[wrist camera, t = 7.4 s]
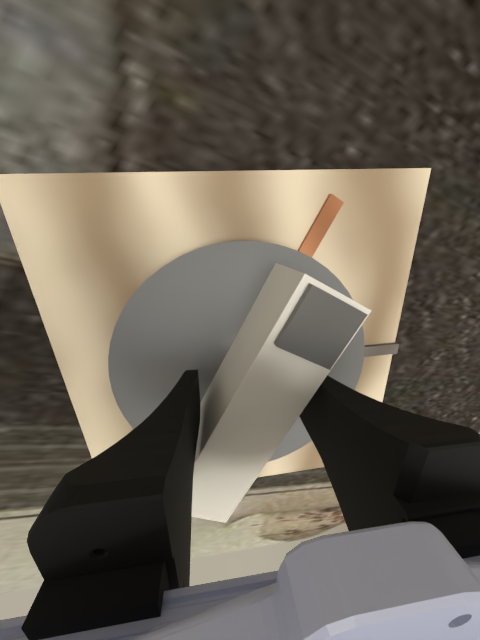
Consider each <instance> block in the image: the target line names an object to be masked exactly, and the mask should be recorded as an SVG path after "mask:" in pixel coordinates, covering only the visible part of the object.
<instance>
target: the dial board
mask: <svg viewBox="0 0 480 640" xmlns="http://www.w3.org/2000/svg"><path fill="white" fill-rule="evenodd" d="M430 172H431V168H407V169H336V170H265V171H194V172H123V173H52V174H0V203H1V206H2V209H3V212H4V215H5V217H6V220H7V223H8V226H9V228H10V231H11V234H12V237H13V240H14V242H15V245H16V248H17V251H18V254H19V256H20V259H21V262H22V265H23V267H24V270H25V273H26V276H27V279H28V281H29V284H30V287H31V290H32V293H33V295H34V298H35V301H36V304H37V306H38V309H39V312H40V315H41V318H42V320H43V323H44V326H45V329H46V332H47V334H48V337H49V340H50V343H51V345H52V348H53V351H54V354H55V357H56V359H57V362H58V365H59V368H60V371H61V373H62V376H63V379H64V382H65V384H66V387H67V390H68V393H69V396H70V398H71V401H72V404H73V407H74V410H75V412H76V415H77V418H78V421H79V423H80V426H81V429H82V432H83V435H84V437H85V440H86V443H87V446H88V449H89V451H90V454H91V457H92V458H94V457H96V456H97V455H99V454H100V453H102V452H103V451H105V450H106V449H108V448H109V447H111V446H112V445H114V444H115V443H116V442H118V441H119V440H121V439H122V438H123V437H125V436H126V435H127V434H128V433H130V432H131V431H132V430H133V428H132V427H131V425H130V424H129V423H128V422H127V420H126V419H125V418H124V416H123V414H122V412H121V411H120V409H119V407H118V405H117V403H116V400H115V398H114V395H113V392H112V389H111V384H110V379H109V371H108V355H109V347H110V341H111V338H112V334H113V331H114V327H115V325H116V322H117V320H118V318H119V316H120V314H121V312H122V310H123V308H124V307H125V305H126V304H127V302H128V301H129V299H130V298H131V296H132V295H133V294H134V293H135V291H136V290H137V289H138V288H139V287H140V286H141V285H142V284H143V283H144V282H145V281H146V280H147V279H148V278H149V277H150V276H152V275H153V274H154V273H155V272H156V271H158V270H159V269H160V268H161V267H163V266H165V265H166V264H168V263H170V262H171V261H173V260H175V259H176V258H178V257H180V256H181V255H183V254H186V253H188V252H191V251H193V250H195V249H198V248H200V247H204V246H208V245H212V244H216V243H221V242H230V241H260V242H266V243H272V244H278V245H282V246H285V247H288V248H291V249H294V250H297V251H299V252H301V253H303V254H305V255H307V256H309V257H311V258H313V259H315V260H316V261H318V262H319V263H320V264H322V265H323V266H325V267H326V268H327V269H329V270H330V271H331V272H332V273H333V274H334V275H335V276H336V277H337V278H338V279H339V280H340V281H341V283H342V284H343V285H344V287H345V288H346V289H347V290H348V292H349V293H350V295H351V297H352V299H353V300H354V301H355V302H357V303H359V304H361V305H363V306H364V307H366V308H368V309H370V310H372V311H371V313H370V314H369V315H368V317H367V318H366V320H365V321H364V323H363V324H362V326H363V331H364V344H365V350H364V361H363V366H362V370H361V375H360V378H359V380H358V383H357V386H356V388H355V391H357V392H359V393H361V394H364V395H366V396H368V397H370V398H373V399H375V400H377V401H380V402H382V401H383V397H384V392H385V387H386V382H387V378H388V373H389V368H390V363H391V358H392V354H397V351H398V347H399V343H397V342H395V339H396V334H397V330H398V325H399V320H400V315H401V310H402V306H403V301H404V296H405V291H406V287H407V282H408V277H409V272H410V267H411V263H412V258H413V253H414V248H415V243H416V239H417V234H418V229H419V224H420V219H421V215H422V210H423V205H424V200H425V195H426V191H427V186H428V181H429V176H430ZM320 467H324V464H323V462H322V459H321V457H320V455H319V453H318V451H317V449H316V447H315V445H314V443H313V441H311V442H309V443H308V444H306V445H305V446H303V447H302V448H300V449H298V450H296V451H294V452H292V453H290V454H288V455H286V456H283V457H281V458H279V459H276V460H273V461H270V462H267V463H266V465H265V466H264V468H263V469H262V471H261V472H260V474H259V475H258V477H263V476H269V475H276V474H282V473H288V472H295V471H301V470H307V469H314V468H320Z"/></svg>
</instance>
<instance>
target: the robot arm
mask: <svg viewBox="0 0 480 640" xmlns="http://www.w3.org/2000/svg"><path fill="white" fill-rule="evenodd" d="M299 417H300V419H301V421H302V423H303V424H304V426H305V428H306V430H307V432H308V434H309V436H310V438H311V440H312V441H313V443H314V445H315V447H316V449H317V451H318V453H319V455H320V457H321V459H322V462H323V464H324V467H325V469H326V471H327V474H328V476H329V479H330V481H331V484H332V486H333V489H334V492H335V494H336V497H337V499H338V502H339V505H340V507H341V510H342V513H343V516H344V519H345V521H346V524H347V527H348V530H349V531H348V532H342V533H336V534H330V535H324V536H320V537H317V538H313V539H310V540H307V541H304V542H302V543H300V544H299V545H298V546H296V547H295V548H294V549H292V550H291V551H289V552H288V553H287V554H286V556H285V558H284V560H283V562H282V564H281V566H280V568H279V570H278V571H274V572H268V573H262V574H257V575H251V576H246V577H241V578H234V579H229V580H223V581H218V582H212V583H207V584H201V585H195V586H190V587H189V576H190V544H191V515H192V491H193V472H194V462H195V455H196V448H197V440H198V433H199V425H200V390H199V376H198V369H197V370H186V371H185V372H184V373H183V374H182V376H181V378H180V379H179V381H178V382H177V383H176V385H175V386H174V387H173V389H172V390H171V391H170V393H169V394H168V395H167V396H166V398H165V399H164V400H163V401H162V402H161V403H160V405H159V406H158V407H157V408H156V409H155V410H154V411H153V412H152V413H151V414H150V415H149V416H148V417H147V418H146V419H145V420H144V421H143V422H142V423H141V424H139V425H138V426H137V427H136V428H134V429H133V430H132V431H131V432H130V433H128V434H127V435H126V436H125V437H123V438H122V439H121V440H119V441H118V442H116V443H115V444H114V445H112V446H111V447H109V448H108V449H106V450H105V451H103V452H102V453H100V454H99V455H97V456H96V457H94V458H92V459H91V460H89V461H87V462H86V463H84V464H82V465H80V466H79V467H77V468H75V469H74V470H72V471H70V472H68V473H67V474H65V476H64V477H63V478H62V480H61V481H60V483H59V484H58V486H57V487H56V488H55V490H54V491H53V493H52V495H51V496H50V498H49V499H48V501H47V503H46V504H45V506H44V508H43V509H42V511H41V512H40V514H39V516H38V517H37V519H36V521H35V522H34V524H33V526H32V527H31V529H30V531H29V534H28V538H27V543H28V547H29V550H30V553H31V555H32V557H33V559H34V561H35V563H36V565H37V567H38V569H39V571H40V573H41V575H42V576H43V578H44V582H43V584H42V586H41V588H40V590H39V592H38V594H37V596H36V598H35V600H34V603H33V604H32V606H31V609H30V611H29V613H28V615H27V616H22V617H16V618H11V619H5V620H0V640H480V434H478V433H477V432H476V431H474V430H473V429H471V428H469V427H464V426H460V425H456V424H451V423H447V422H443V421H439V420H435V419H431V418H428V417H424V416H421V415H417V414H414V413H411V412H408V411H404V410H401V409H399V408H396V407H393V406H390V405H388V404H385V403H382V402H380V401H377V400H375V399H373V398H370V397H368V396H366V395H364V394H361V393H359V392H357V391H355V390H353V389H351V388H349V387H348V386H346V385H344V384H342V383H340V382H338V381H337V380H335V379H333V378H331V377H330V376H328V375H327V376H326V378H325V379H324V381H323V382H322V384H321V385H320V387H319V388H318V389H317V391H316V392H315V394H314V395H313V397H312V398H311V400H310V401H309V403H308V404H307V405H306V407H305V408H304V410H303V411H302V413H301V414H300V416H299Z"/></svg>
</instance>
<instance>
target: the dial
mask: <svg viewBox="0 0 480 640" xmlns="http://www.w3.org/2000/svg"><path fill="white" fill-rule="evenodd" d="M371 311H372V310H370V309H368V308H366V307H364V306H363V305H361V304H359V303H357V302H355V301H354V300H353V299H352V297H351V295H350V293H349V292H348V290H347V289H346V288H345V287H344V285H343V284H342V283H341V281H340V280H339V279H338V278H337V277H336V276H335V275H334V274H333V273H332V272H331V271H330V270H329V269H327V268H326V267H325V266H323V265H322V264H320V263H319V262H318V261H316V260H315V259H313V258H311V257H309V256H307V255H305V254H303V253H301V252H299V251H297V250H294V249H291V248H288V247H285V246H282V245H278V244H272V243H266V242H260V241H230V242H221V243H216V244H212V245H208V246H204V247H200V248H198V249H195V250H193V251H191V252H188V253H186V254H183V255H181V256H180V257H178V258H176V259H175V260H173V261H171V262H170V263H168V264H166V265H165V266H163V267H161V268H160V269H159V270H158V271H156V272H155V273H154V274H153V275H152V276H150V277H149V278H148V279H147V280H146V281H145V282H144V283H143V284H142V285H141V286H140V287H139V288H138V289H137V290H136V291H135V293H134V294H133V295H132V296H131V298H130V299H129V301H128V302H127V304H126V305H125V307H124V308H123V310H122V312H121V314H120V316H119V318H118V320H117V322H116V325H115V327H114V331H113V334H112V338H111V341H110V347H109V355H108V371H109V379H110V384H111V389H112V392H113V395H114V398H115V400H116V403H117V405H118V407H119V409H120V411H121V412H122V414H123V416H124V418H125V419H126V420H127V422H128V423H129V424H130V425H131V427H132V428H133V429H134V428H136V427H137V426H138V425H139V424H141V423H142V422H143V421H144V420H145V419H146V418H147V417H148V416H149V415H150V414H151V413H152V412H153V411H154V410H155V409H156V408H157V407H158V406H159V405H160V403H161V402H162V401H163V400H164V399H165V398H166V396H167V395H168V394H169V393H170V391H171V390H172V389H173V387H174V386H175V385H176V383H177V382H178V381H179V379H180V378H181V376H182V374H183V373H184V372H185V371H186V370H197V369H198V376H199V390H200V425H199V433H198V440H197V448H196V455H195V462H194V472H193V491H192V515H191V517H197V518H202V519H208V520H213V521H219V522H224V523H226V522H227V520H228V519H229V517H230V516H231V514H232V513H233V511H234V510H235V509H236V507H237V506H238V504H239V503H240V501H241V500H242V498H243V497H244V495H245V494H246V493H247V491H248V490H249V488H250V487H251V485H252V484H253V482H254V481H255V479H256V478H257V477H258V475H259V474H260V472H261V471H262V469H263V468H264V466H265V465H266V463H267V462H270V461H273V460H276V459H279V458H281V457H283V456H286V455H288V454H290V453H292V452H294V451H296V450H298V449H300V448H302V447H303V446H305V445H306V444H308V443H309V442H311V441H312V440H311V438H310V436H309V434H308V432H307V430H306V428H305V426H304V424H303V423H302V421H301V419H300V417H299V416H300V414H301V413H302V411H303V410H304V408H305V407H306V405H307V404H308V403H309V401H310V400H311V398H312V397H313V395H314V394H315V392H316V391H317V389H318V388H319V387H320V385H321V384H322V382H323V381H324V379H325V378H326V376H327V375H328V376H330V377H331V378H333V379H335V380H337V381H338V382H340V383H342V384H344V385H346V386H348V387H349V388H351V389H353V390H355V388H356V386H357V383H358V380H359V378H360V375H361V370H362V366H363V361H364V350H365V344H364V331H363V326H362V324H363V323H364V321H365V320H366V318H367V317H368V315H369V314H370V313H371Z"/></svg>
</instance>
